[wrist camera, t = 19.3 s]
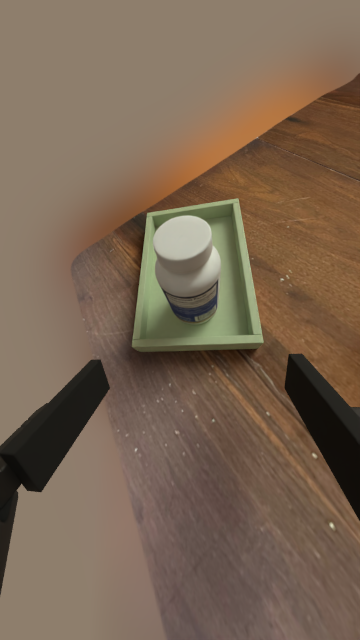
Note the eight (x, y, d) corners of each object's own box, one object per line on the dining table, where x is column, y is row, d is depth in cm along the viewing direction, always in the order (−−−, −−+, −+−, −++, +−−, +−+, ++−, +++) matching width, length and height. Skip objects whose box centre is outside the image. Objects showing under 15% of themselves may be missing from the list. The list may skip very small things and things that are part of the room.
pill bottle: (178, 282, 22) (154, 207, 13) (222, 287, 21) (228, 207, 12) (166, 322, 20) (130, 266, 11) (214, 330, 19) (215, 273, 10)
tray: (258, 348, 18) (263, 342, 16) (139, 352, 20) (131, 347, 18) (236, 214, 25) (238, 198, 23) (152, 226, 27) (147, 212, 25)
